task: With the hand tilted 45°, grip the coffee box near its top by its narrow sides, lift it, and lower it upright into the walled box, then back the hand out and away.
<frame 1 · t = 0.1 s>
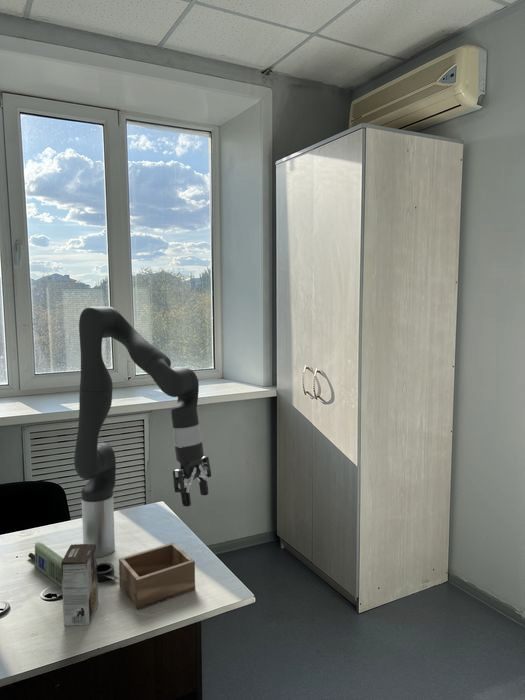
hand: (196, 500, 144), 22 cm above the table, tool pointing down, fingers open, 8 cm apart
coffee box: (81, 615, 129), on the table
duct tape: (103, 578, 147), on the table
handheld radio: (49, 574, 149), on the table
walled box: (157, 588, 141), on the table
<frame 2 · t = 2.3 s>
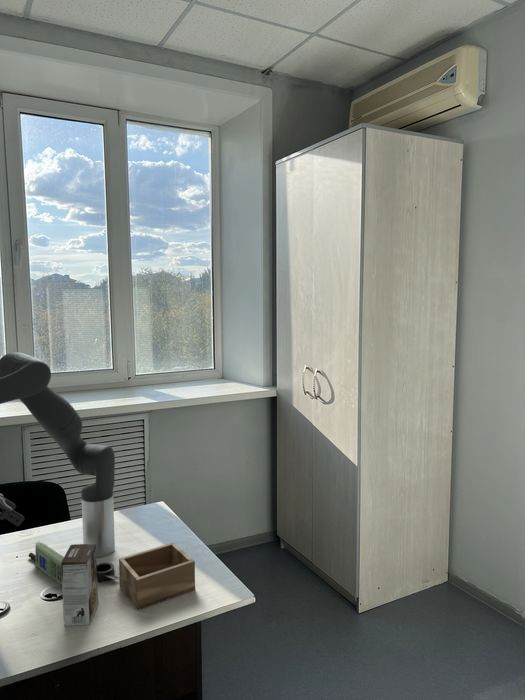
hand: (17, 515, 118), 29 cm above the table, tool tilted 45°, fingers open, 8 cm apart
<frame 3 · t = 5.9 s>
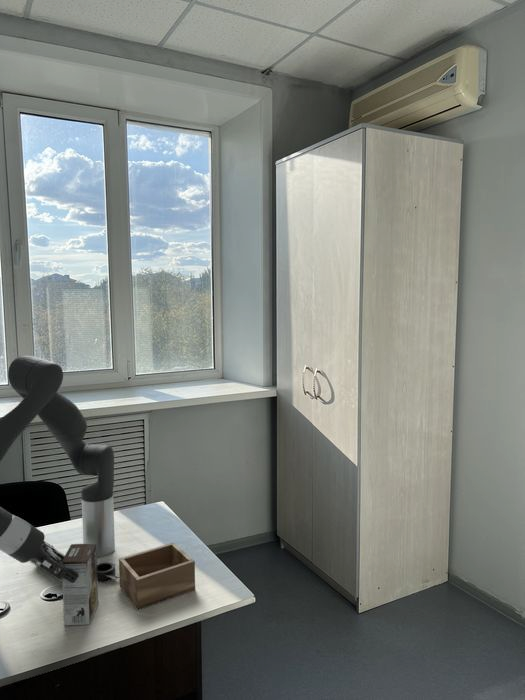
hand: (71, 571, 127), 12 cm above the table, tool tilted 45°, fingers open, 8 cm apart
coffee box: (81, 614, 129), on the table, touching gripper
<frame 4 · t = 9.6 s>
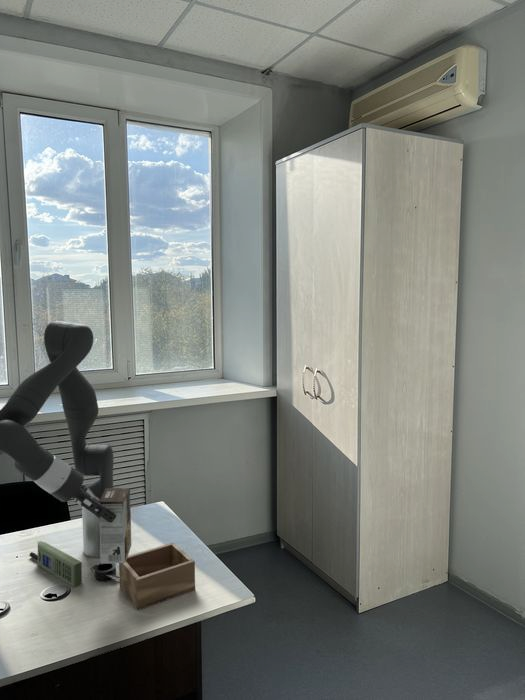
hand: (108, 513, 131), 24 cm above the table, tool tilted 45°, fingers closed on coffee box, 8 cm apart
coffee box: (116, 555, 134), point 12 cm above the table, touching gripper
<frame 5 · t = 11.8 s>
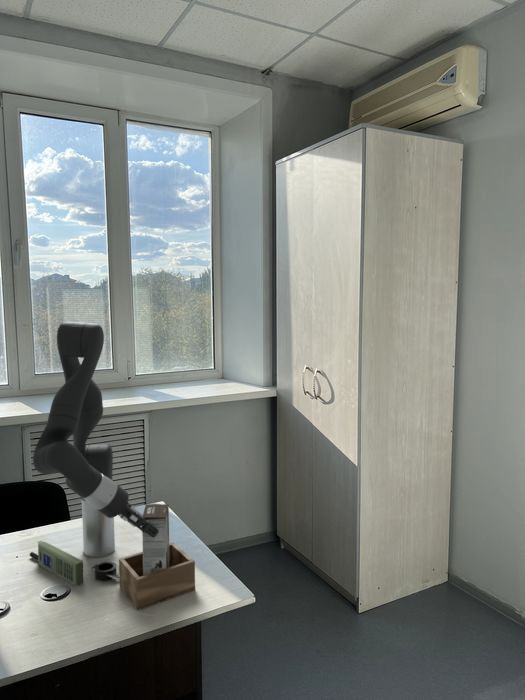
hand: (149, 528, 138), 17 cm above the table, tool tilted 45°, fingers closed on coffee box, 8 cm apart
coffee box: (156, 569, 140), point 5 cm above the table, touching gripper
when the fingers open (14 cm above the table, at t = 13.2 s): coffee box stays where it is, resting on walled box.
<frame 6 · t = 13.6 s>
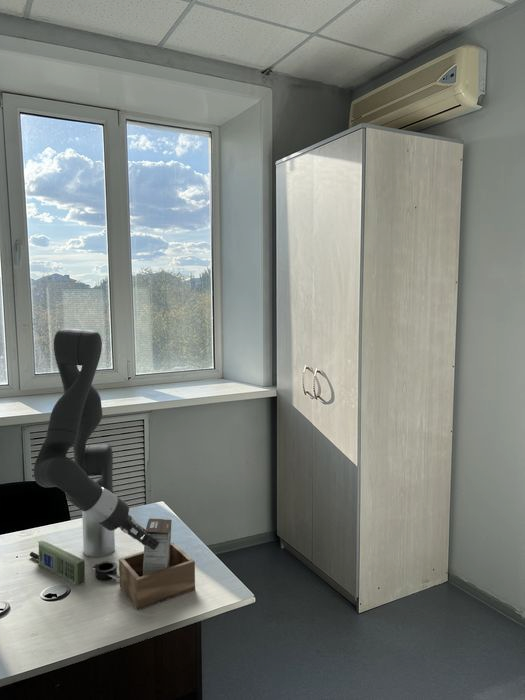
hand: (149, 539, 138), 14 cm above the table, tool tilted 45°, fingers open, 8 cm apart
coffee box: (155, 584, 140), point 1 cm above the table, touching gripper, walled box
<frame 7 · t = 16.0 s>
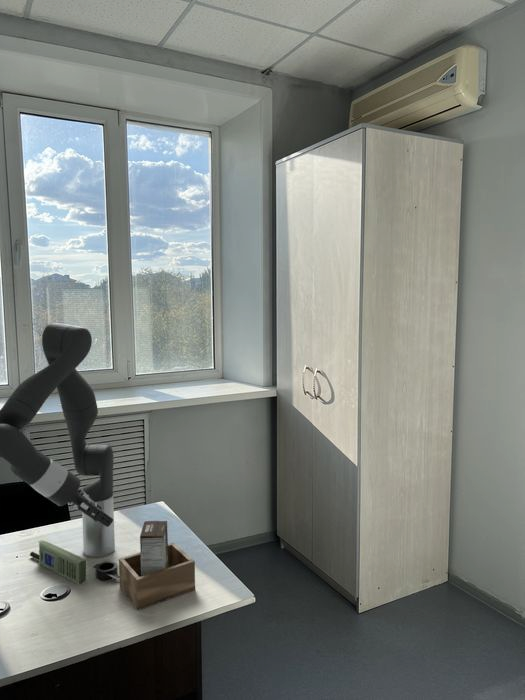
hand: (104, 517, 131), 23 cm above the table, tool tilted 45°, fingers open, 8 cm apart
coffee box: (155, 586, 141), point 1 cm above the table, touching walled box
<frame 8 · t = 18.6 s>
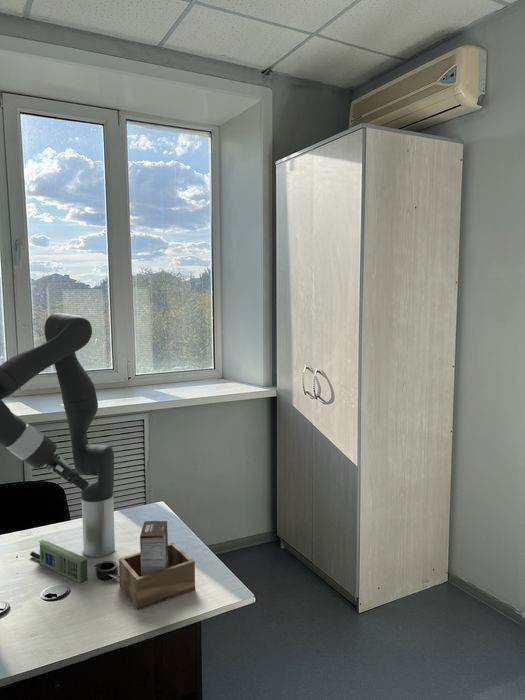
hand: (81, 481, 135), 31 cm above the table, tool tilted 45°, fingers open, 8 cm apart
at the end: coffee box inside the target area on the walled box (0.5 cm from its centre), point 0.8 cm above the walled box's base; coffee box tilted 0°; the gripper is holding nothing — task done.
